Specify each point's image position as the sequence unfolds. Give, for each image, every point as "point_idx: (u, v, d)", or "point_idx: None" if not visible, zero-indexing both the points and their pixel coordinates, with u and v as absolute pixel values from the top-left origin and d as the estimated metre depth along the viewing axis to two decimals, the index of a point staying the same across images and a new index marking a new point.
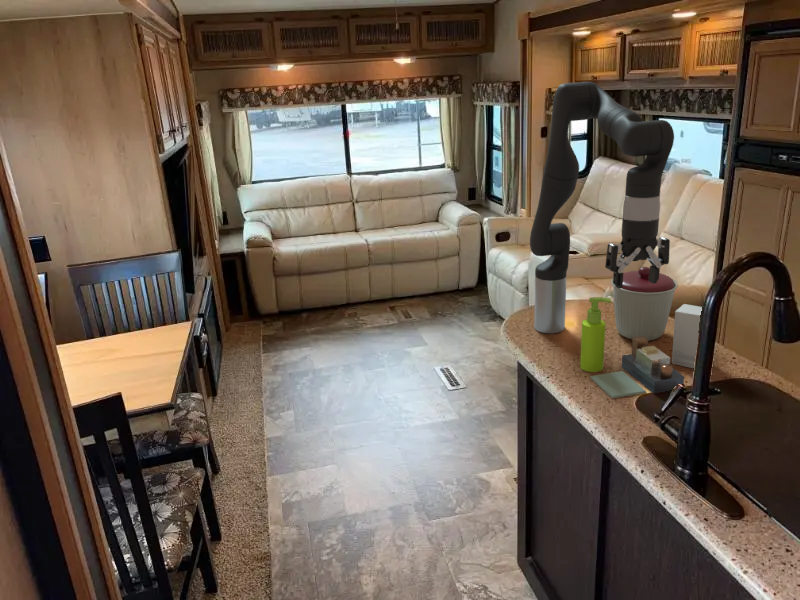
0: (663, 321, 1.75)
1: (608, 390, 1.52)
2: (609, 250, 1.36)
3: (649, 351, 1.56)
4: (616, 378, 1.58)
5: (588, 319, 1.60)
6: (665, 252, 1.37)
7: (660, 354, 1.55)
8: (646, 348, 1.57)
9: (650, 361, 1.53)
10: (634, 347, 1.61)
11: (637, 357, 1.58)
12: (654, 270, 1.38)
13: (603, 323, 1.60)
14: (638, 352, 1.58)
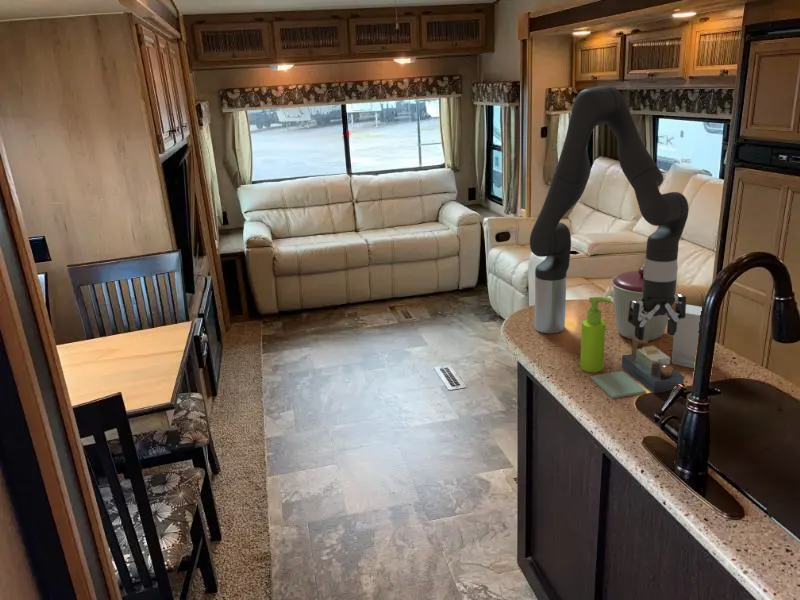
0: (663, 321, 1.75)
1: (608, 390, 1.52)
2: (631, 306, 1.50)
3: (649, 351, 1.56)
4: (616, 378, 1.58)
5: (588, 319, 1.60)
6: (682, 308, 1.51)
7: (660, 354, 1.55)
8: (646, 348, 1.57)
9: (650, 361, 1.53)
10: (634, 347, 1.61)
11: (637, 357, 1.58)
12: (672, 324, 1.53)
13: (603, 323, 1.60)
14: (638, 352, 1.58)
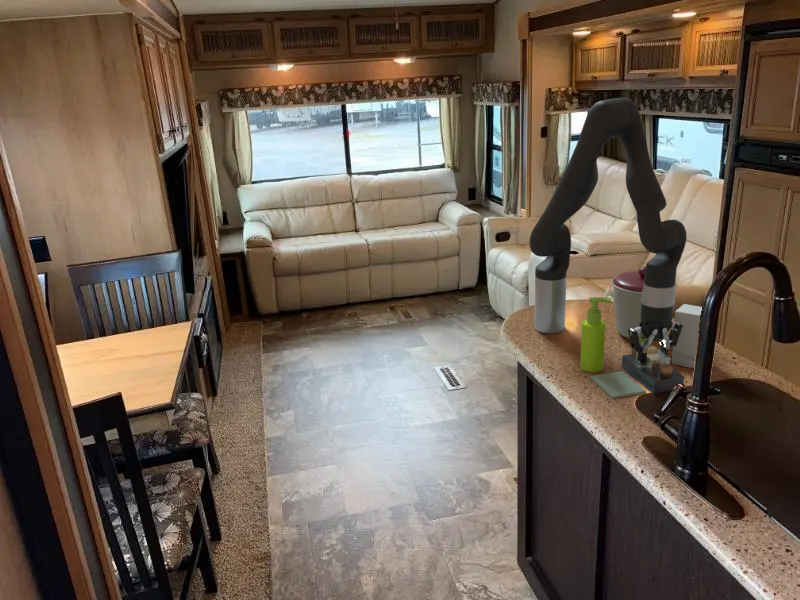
0: None
1: (608, 390, 1.52)
2: (630, 335, 1.53)
3: (649, 351, 1.56)
4: (616, 378, 1.58)
5: (588, 319, 1.60)
6: (676, 335, 1.54)
7: (660, 354, 1.55)
8: None
9: (650, 361, 1.53)
10: None
11: (637, 357, 1.58)
12: (663, 351, 1.55)
13: (603, 323, 1.60)
14: None
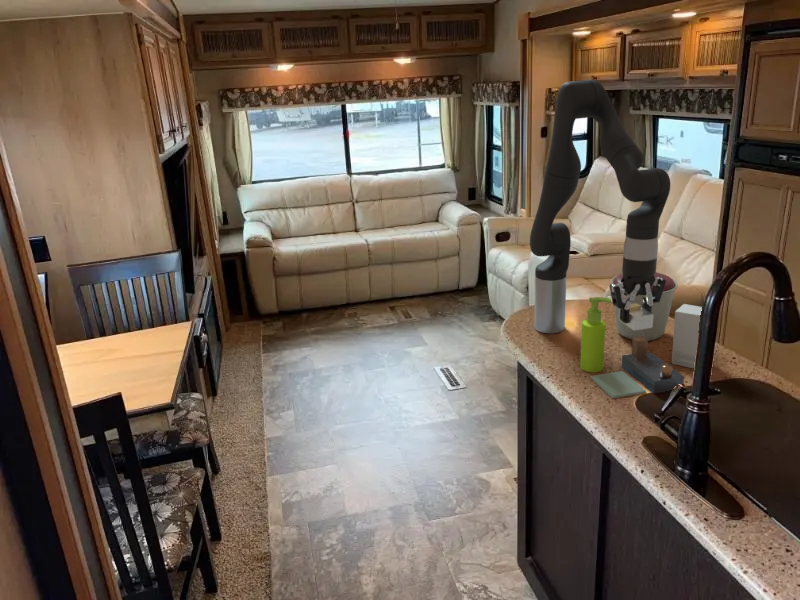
0: (663, 321, 1.75)
1: (608, 390, 1.52)
2: (612, 290, 1.46)
3: (632, 308, 1.50)
4: (616, 378, 1.58)
5: (588, 319, 1.60)
6: (659, 291, 1.48)
7: (643, 311, 1.49)
8: None
9: (633, 318, 1.47)
10: (634, 347, 1.61)
11: None
12: (646, 308, 1.49)
13: (603, 323, 1.60)
14: None
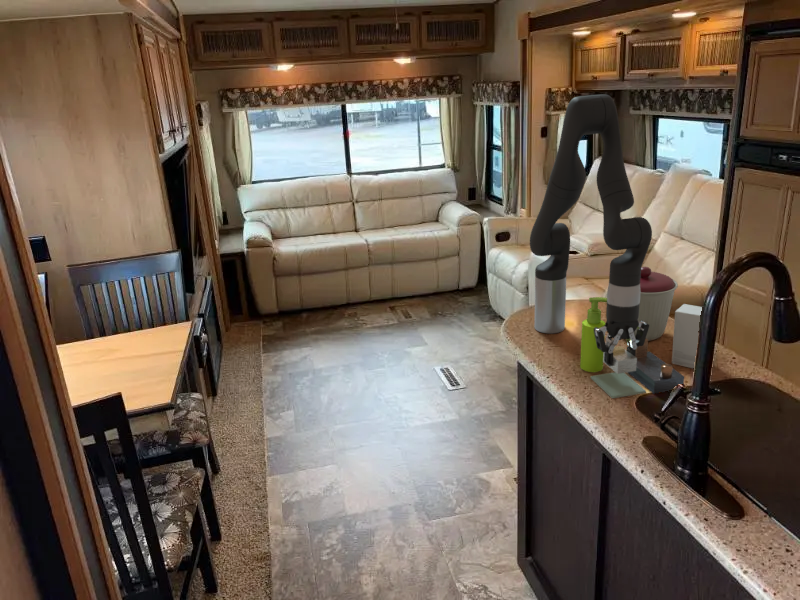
0: (663, 321, 1.75)
1: (608, 390, 1.52)
2: (596, 334, 1.49)
3: (616, 351, 1.53)
4: (616, 378, 1.58)
5: (588, 319, 1.60)
6: (643, 335, 1.50)
7: (627, 354, 1.51)
8: None
9: (616, 361, 1.49)
10: None
11: None
12: (630, 351, 1.52)
13: (603, 323, 1.60)
14: None
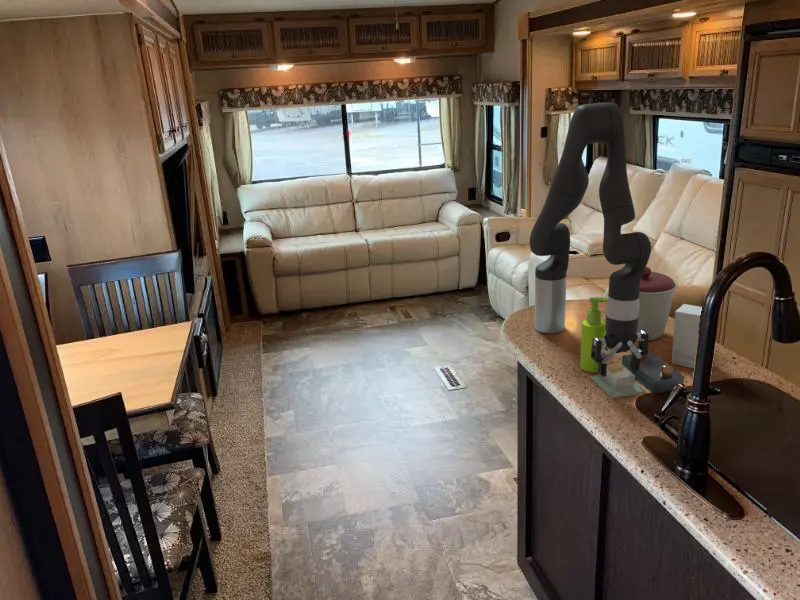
0: (663, 321, 1.75)
1: (608, 390, 1.52)
2: (594, 344, 1.50)
3: (614, 369, 1.54)
4: None
5: (588, 319, 1.60)
6: (644, 344, 1.52)
7: (626, 372, 1.53)
8: (612, 365, 1.55)
9: (615, 379, 1.51)
10: None
11: None
12: (635, 360, 1.53)
13: (603, 323, 1.60)
14: None
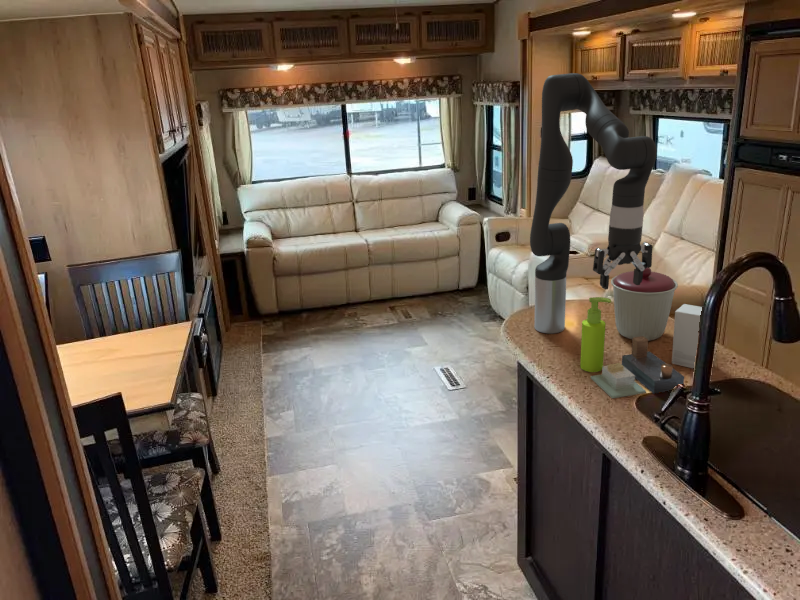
0: (663, 321, 1.75)
1: (608, 390, 1.52)
2: (596, 254, 1.47)
3: (614, 369, 1.54)
4: None
5: (588, 319, 1.60)
6: (648, 257, 1.49)
7: (626, 372, 1.53)
8: (612, 365, 1.55)
9: (615, 379, 1.51)
10: (634, 347, 1.61)
11: (603, 374, 1.57)
12: (638, 273, 1.50)
13: (603, 323, 1.60)
14: (604, 369, 1.56)
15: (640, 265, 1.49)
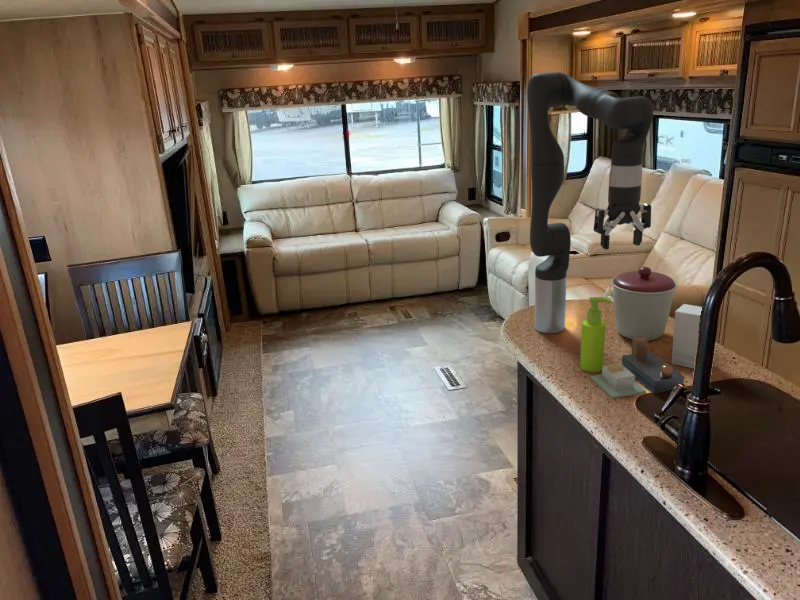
0: (663, 321, 1.75)
1: (608, 390, 1.52)
2: (597, 214, 1.51)
3: (614, 369, 1.54)
4: None
5: (588, 319, 1.60)
6: (647, 217, 1.52)
7: (626, 372, 1.53)
8: (612, 365, 1.55)
9: (615, 379, 1.51)
10: (634, 347, 1.61)
11: (603, 374, 1.57)
12: (637, 233, 1.54)
13: (603, 323, 1.60)
14: (604, 369, 1.56)
15: (640, 225, 1.53)
